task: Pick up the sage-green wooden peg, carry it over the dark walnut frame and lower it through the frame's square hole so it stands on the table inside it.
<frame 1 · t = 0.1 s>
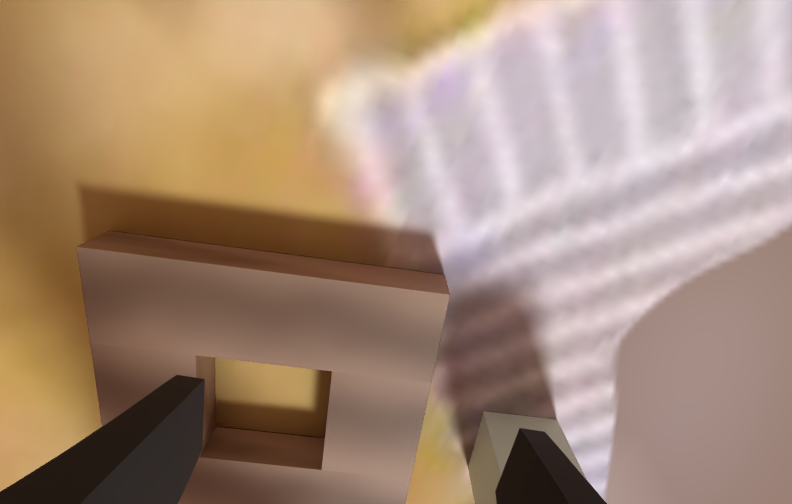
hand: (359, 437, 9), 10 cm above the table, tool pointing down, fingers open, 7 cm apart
walnut socket frame: (274, 387, 21), on the table
sage peg: (511, 443, 23), on the table
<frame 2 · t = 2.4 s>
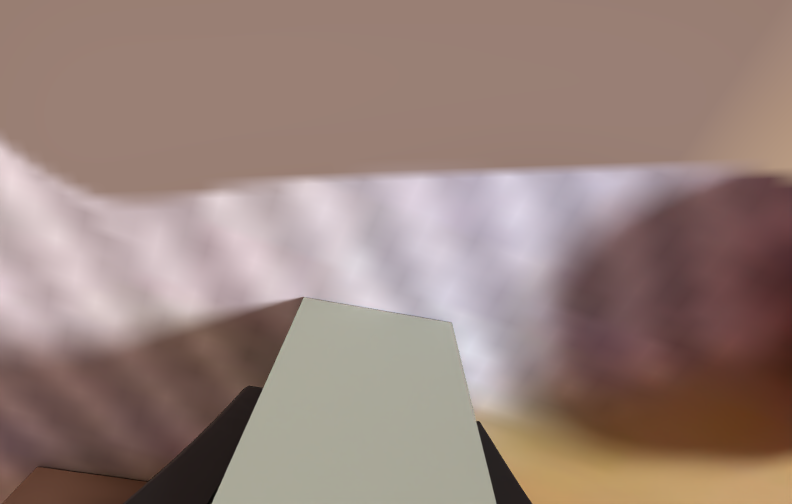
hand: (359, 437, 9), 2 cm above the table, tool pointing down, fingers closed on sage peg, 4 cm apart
sage peg: (366, 371, 12), on the table, touching gripper
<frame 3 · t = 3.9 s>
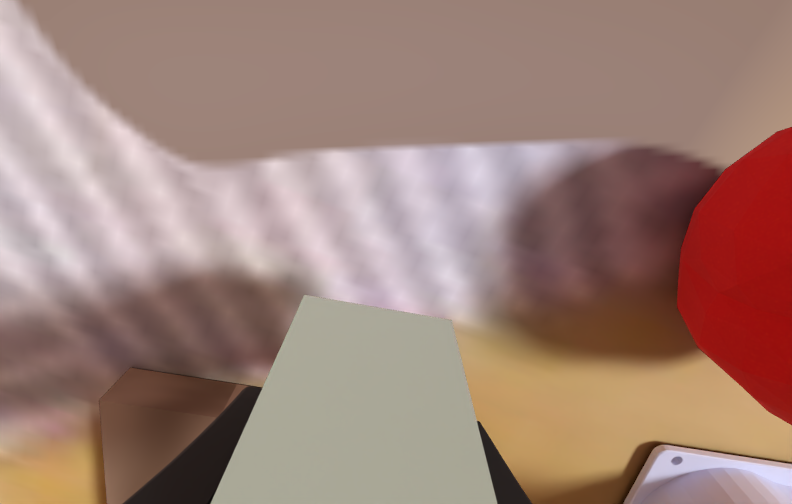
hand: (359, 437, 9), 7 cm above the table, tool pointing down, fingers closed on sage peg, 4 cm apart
tomato: (756, 235, 16), on the table
sage peg: (366, 368, 12), point 5 cm above the table, touching gripper
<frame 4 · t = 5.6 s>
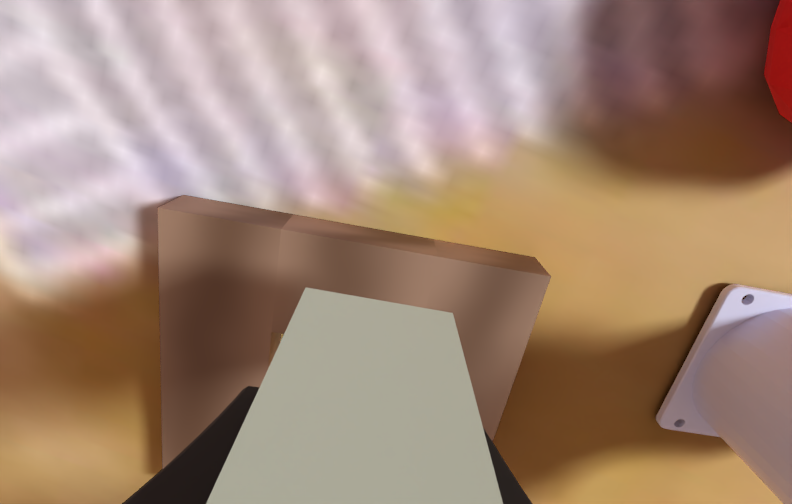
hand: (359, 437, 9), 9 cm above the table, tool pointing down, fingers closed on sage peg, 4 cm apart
walnut socket frame: (340, 371, 20), on the table
sage peg: (367, 361, 12), point 7 cm above the table, touching gripper
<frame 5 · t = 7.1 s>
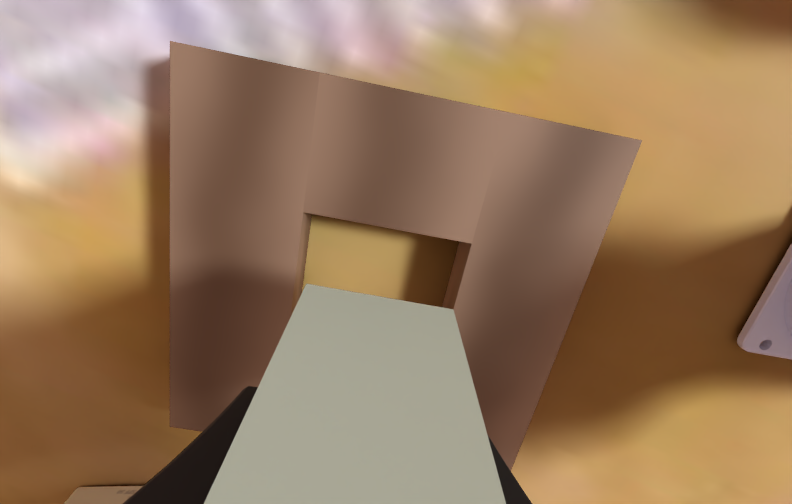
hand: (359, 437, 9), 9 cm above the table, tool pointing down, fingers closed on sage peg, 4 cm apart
walnut socket frame: (376, 280, 17), on the table
sage peg: (368, 358, 12), point 6 cm above the table, touching gripper
when the fingers open (3 cm above the table, at t = 8.6 s): sage peg stays where it is, resting in walnut socket frame.
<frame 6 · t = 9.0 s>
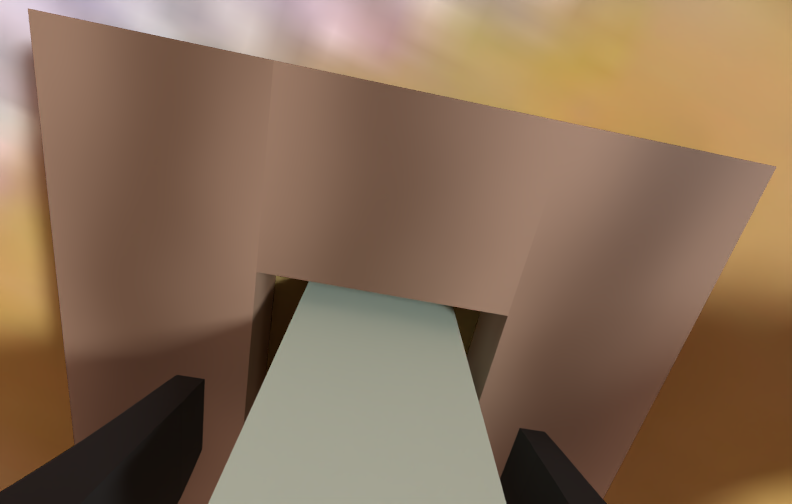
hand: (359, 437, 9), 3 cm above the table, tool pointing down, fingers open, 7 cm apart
walnut socket frame: (368, 351, 13), on the table
sage peg: (370, 343, 13), resting in walnut socket frame
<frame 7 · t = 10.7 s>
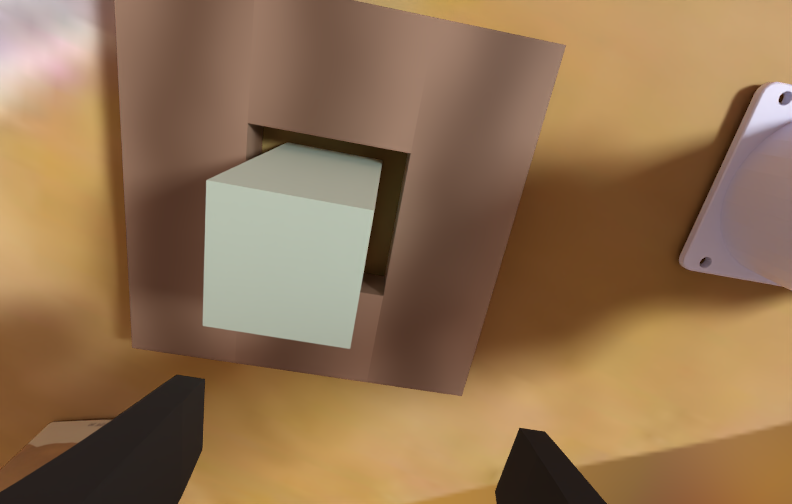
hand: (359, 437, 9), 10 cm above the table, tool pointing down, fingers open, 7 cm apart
skincare box: (116, 445, 23), on the table
walnut socket frame: (328, 203, 18), on the table
sage peg: (329, 197, 18), resting in walnut socket frame
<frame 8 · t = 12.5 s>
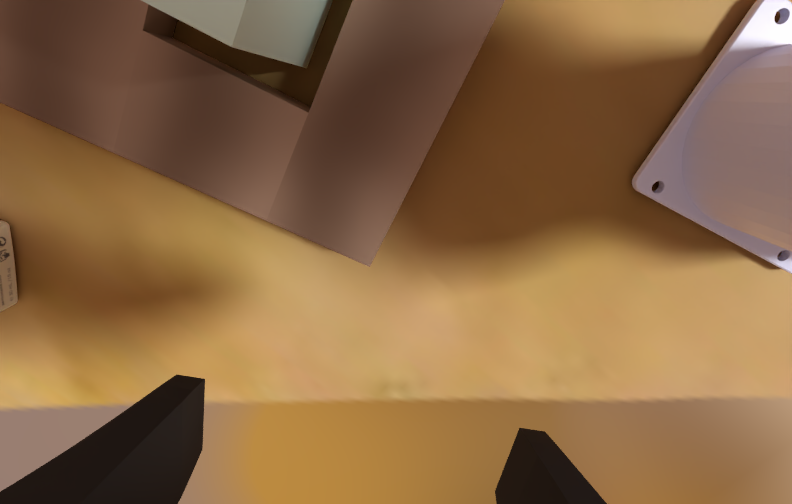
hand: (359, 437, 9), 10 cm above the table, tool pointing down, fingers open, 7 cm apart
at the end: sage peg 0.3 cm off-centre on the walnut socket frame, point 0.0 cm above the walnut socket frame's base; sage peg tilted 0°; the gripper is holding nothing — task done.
